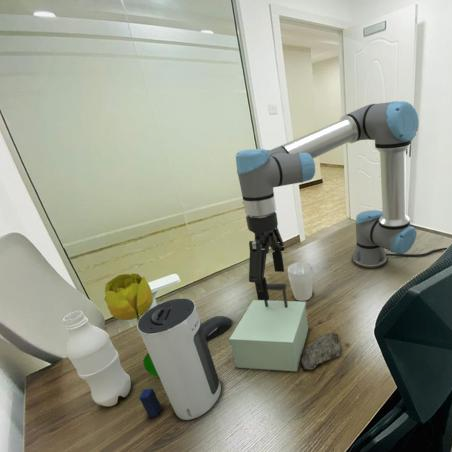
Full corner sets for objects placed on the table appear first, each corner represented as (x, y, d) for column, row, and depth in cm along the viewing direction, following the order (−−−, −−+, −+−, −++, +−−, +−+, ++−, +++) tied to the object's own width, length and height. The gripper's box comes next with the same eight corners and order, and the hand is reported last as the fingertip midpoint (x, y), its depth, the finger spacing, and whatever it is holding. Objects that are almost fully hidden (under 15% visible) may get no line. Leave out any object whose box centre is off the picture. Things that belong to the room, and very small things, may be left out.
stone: (305, 374, 67) (304, 366, 66) (294, 351, 74) (293, 343, 73) (352, 353, 72) (352, 345, 71) (338, 333, 79) (338, 325, 78)
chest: (257, 327, 83) (252, 303, 79) (308, 329, 81) (305, 305, 77) (236, 367, 70) (229, 341, 66) (297, 371, 68) (293, 344, 64)
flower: (141, 376, 69) (96, 280, 57) (175, 356, 74) (139, 265, 62) (149, 397, 63) (101, 296, 52) (185, 375, 68) (148, 278, 57)
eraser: (162, 407, 61) (153, 387, 58) (158, 417, 59) (148, 396, 56) (153, 408, 60) (143, 388, 58) (148, 418, 58) (137, 398, 56)
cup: (311, 304, 92) (308, 275, 87) (287, 302, 94) (283, 273, 89) (318, 289, 100) (315, 262, 96) (295, 287, 102) (292, 260, 97)
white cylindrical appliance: (212, 419, 58) (180, 328, 48) (164, 424, 57) (121, 334, 47) (226, 375, 67) (202, 293, 58) (185, 380, 67) (154, 297, 57)
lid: (253, 302, 80) (248, 278, 77) (306, 303, 78) (303, 279, 75) (229, 341, 66) (222, 314, 63) (293, 344, 64) (289, 317, 61)
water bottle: (111, 383, 67) (69, 305, 57) (140, 380, 67) (103, 302, 58) (89, 412, 60) (37, 329, 51) (121, 408, 61) (76, 326, 51)
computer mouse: (242, 337, 79) (239, 327, 78) (178, 371, 69) (174, 360, 68) (228, 316, 88) (225, 307, 87) (170, 344, 78) (166, 334, 77)
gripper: (264, 199, 77) (273, 261, 85) (222, 233, 54) (240, 313, 62) (288, 199, 76) (295, 261, 84) (256, 233, 53) (270, 315, 61)
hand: (272, 284), depth 73 cm, fingers open, 13 cm apart
